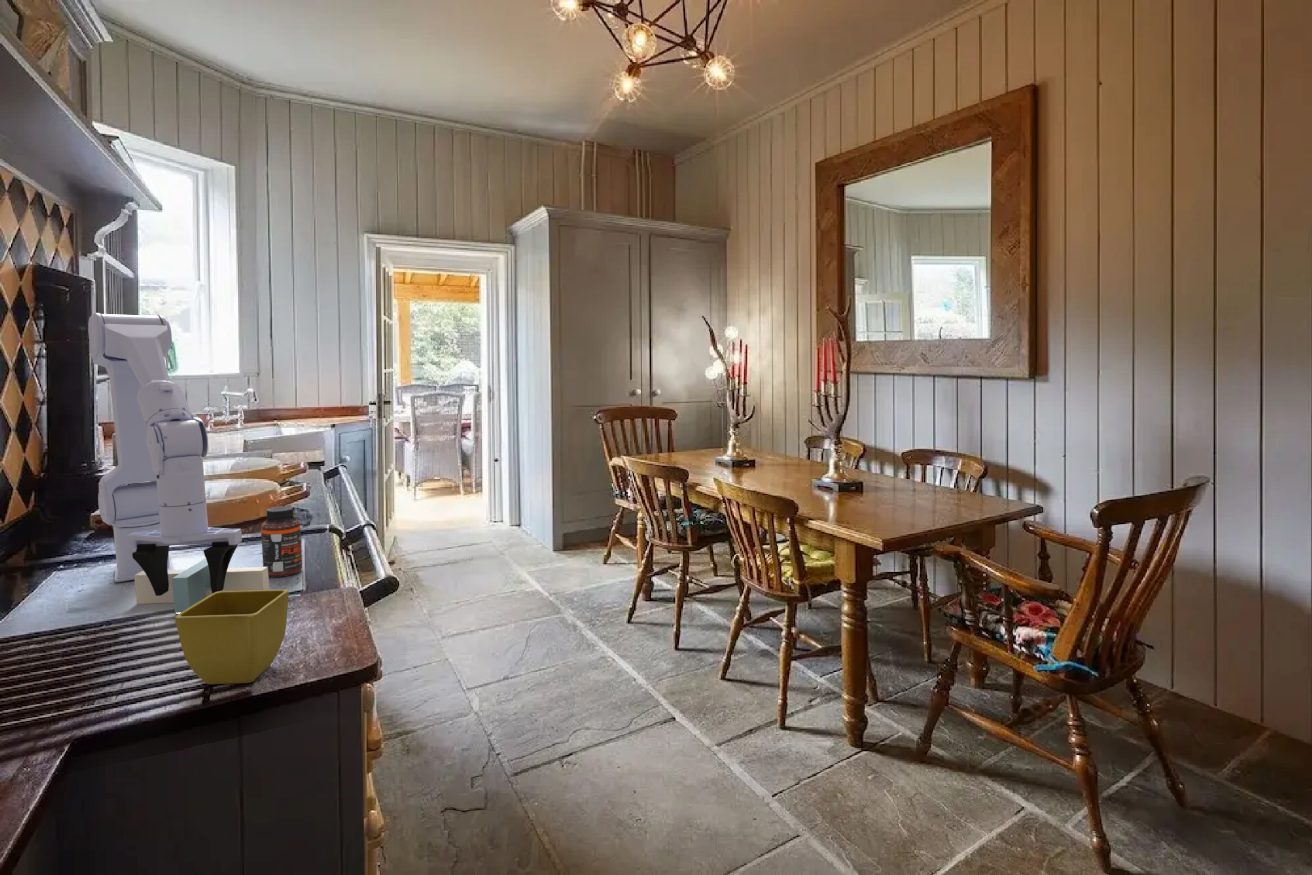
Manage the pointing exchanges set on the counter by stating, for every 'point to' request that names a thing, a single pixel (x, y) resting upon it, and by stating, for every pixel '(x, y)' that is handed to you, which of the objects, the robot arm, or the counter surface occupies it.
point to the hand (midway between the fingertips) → (190, 592)
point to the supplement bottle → (281, 542)
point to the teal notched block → (190, 586)
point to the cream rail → (233, 582)
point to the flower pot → (233, 634)
